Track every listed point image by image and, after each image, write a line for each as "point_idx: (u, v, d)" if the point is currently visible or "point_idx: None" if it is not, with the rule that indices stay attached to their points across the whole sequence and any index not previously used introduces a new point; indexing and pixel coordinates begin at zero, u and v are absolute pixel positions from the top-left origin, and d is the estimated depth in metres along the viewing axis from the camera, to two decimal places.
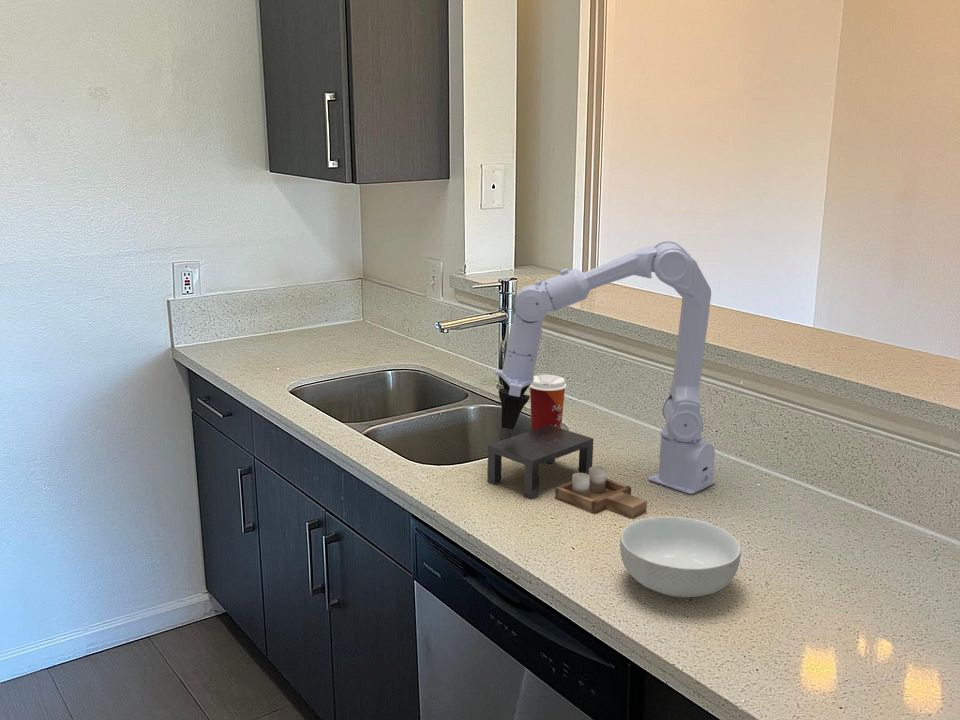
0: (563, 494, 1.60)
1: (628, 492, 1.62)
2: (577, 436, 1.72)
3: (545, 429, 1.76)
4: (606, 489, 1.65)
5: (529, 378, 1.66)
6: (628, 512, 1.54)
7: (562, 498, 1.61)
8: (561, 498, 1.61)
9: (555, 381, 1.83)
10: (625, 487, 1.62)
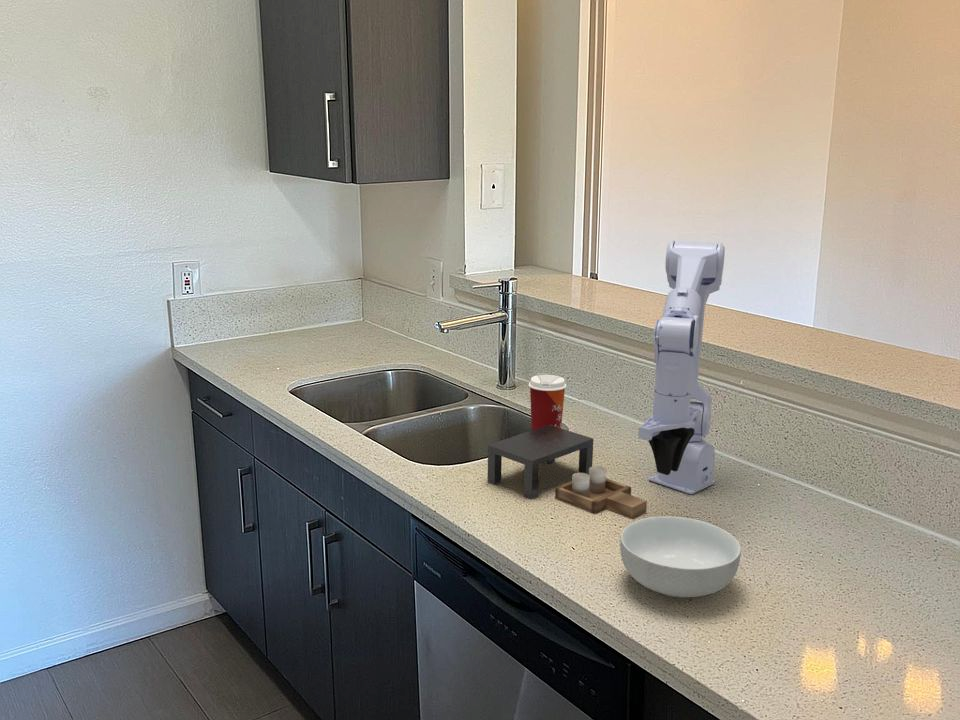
0: (563, 494, 1.60)
1: (628, 492, 1.62)
2: (577, 436, 1.72)
3: (545, 429, 1.76)
4: (606, 489, 1.65)
5: None
6: (628, 512, 1.54)
7: (562, 498, 1.61)
8: (561, 498, 1.61)
9: (555, 381, 1.83)
10: (625, 487, 1.62)
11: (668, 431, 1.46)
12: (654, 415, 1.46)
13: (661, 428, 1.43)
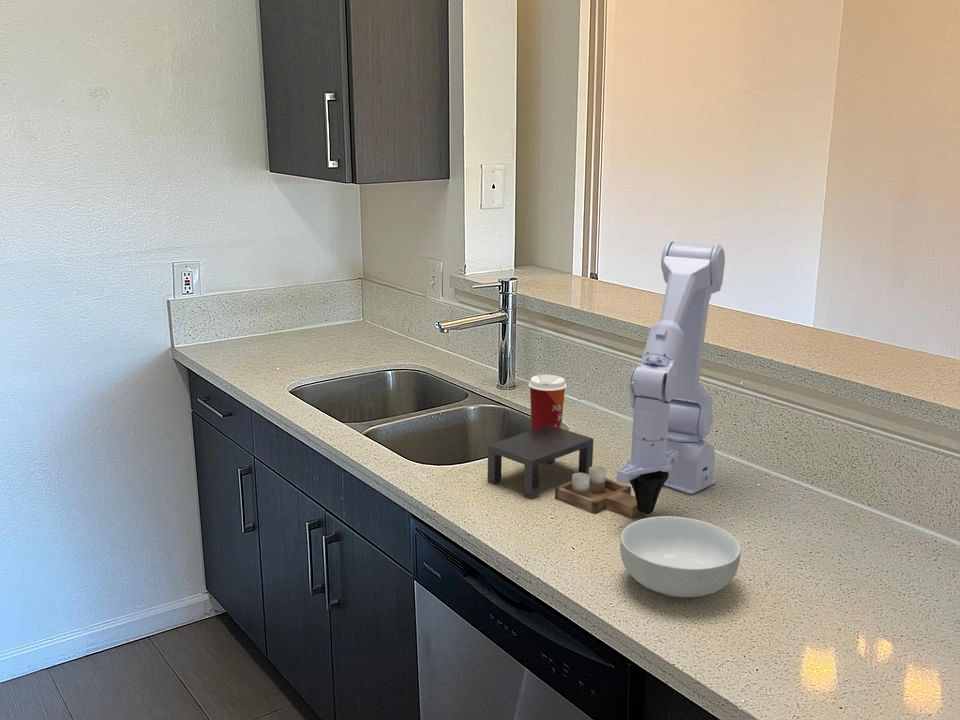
0: (563, 494, 1.60)
1: (628, 492, 1.62)
2: (577, 436, 1.72)
3: (545, 429, 1.76)
4: (606, 489, 1.65)
5: None
6: (628, 512, 1.54)
7: (562, 498, 1.61)
8: (561, 498, 1.61)
9: (555, 381, 1.83)
10: (625, 487, 1.62)
11: (646, 474, 1.51)
12: (632, 458, 1.51)
13: (638, 472, 1.48)
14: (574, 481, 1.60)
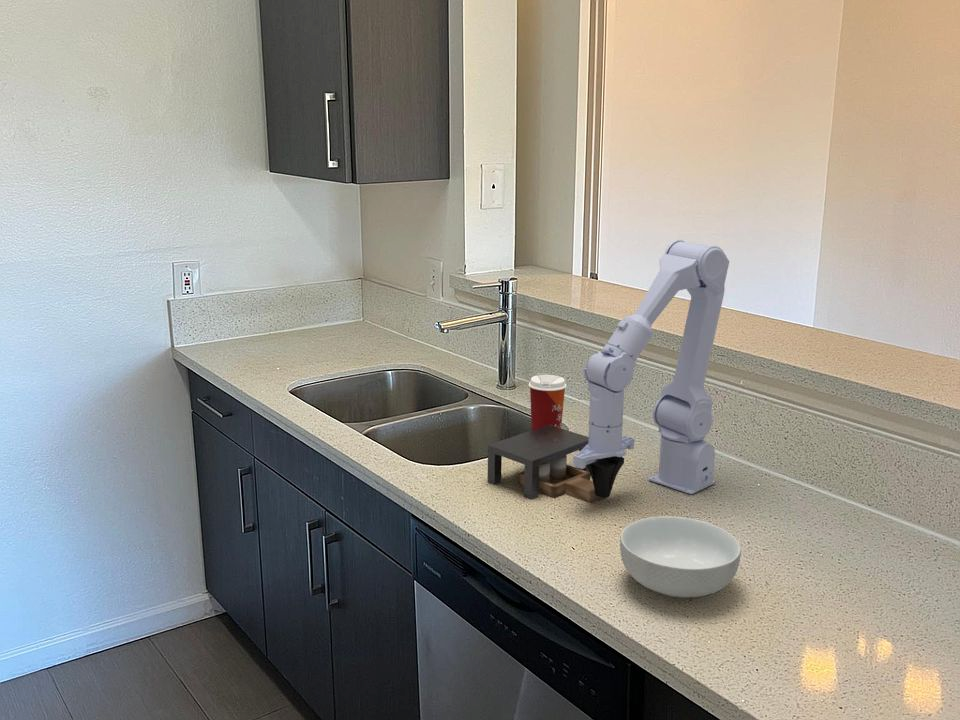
0: None
1: (587, 478, 1.68)
2: (577, 436, 1.72)
3: (545, 429, 1.76)
4: (567, 475, 1.71)
5: None
6: (585, 496, 1.61)
7: None
8: (523, 483, 1.67)
9: (555, 381, 1.83)
10: (584, 473, 1.68)
11: (602, 459, 1.57)
12: (589, 444, 1.57)
13: (594, 457, 1.54)
14: None
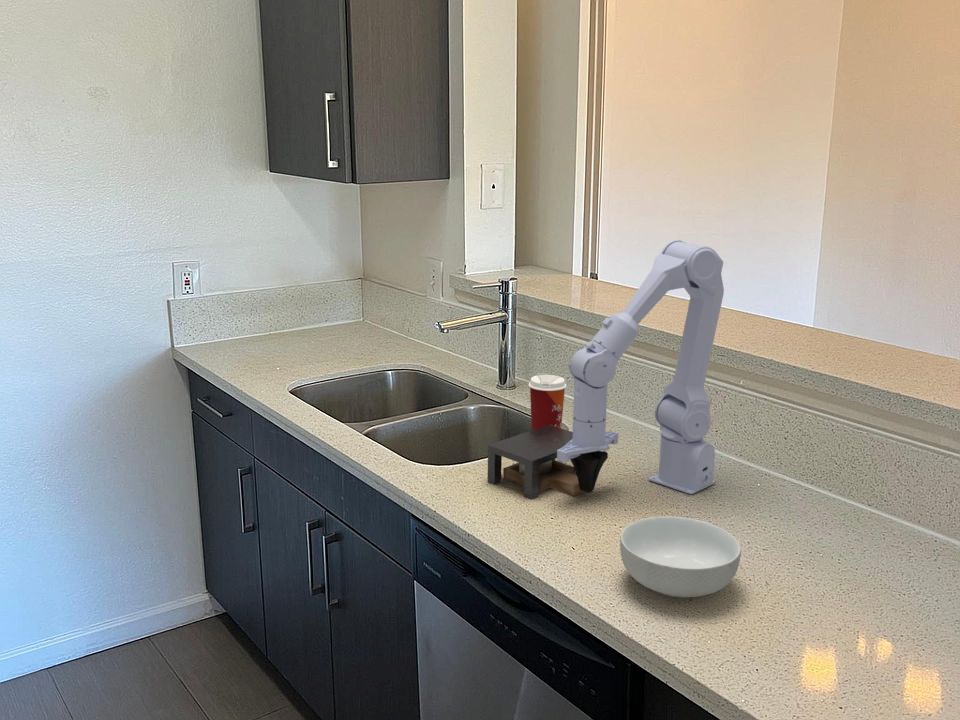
0: (510, 474, 1.69)
1: (572, 472, 1.71)
2: None
3: (545, 429, 1.76)
4: (552, 470, 1.73)
5: None
6: (570, 490, 1.63)
7: (509, 478, 1.69)
8: (509, 478, 1.70)
9: (555, 381, 1.83)
10: (569, 467, 1.71)
11: (585, 454, 1.59)
12: (573, 439, 1.60)
13: (577, 451, 1.56)
14: None
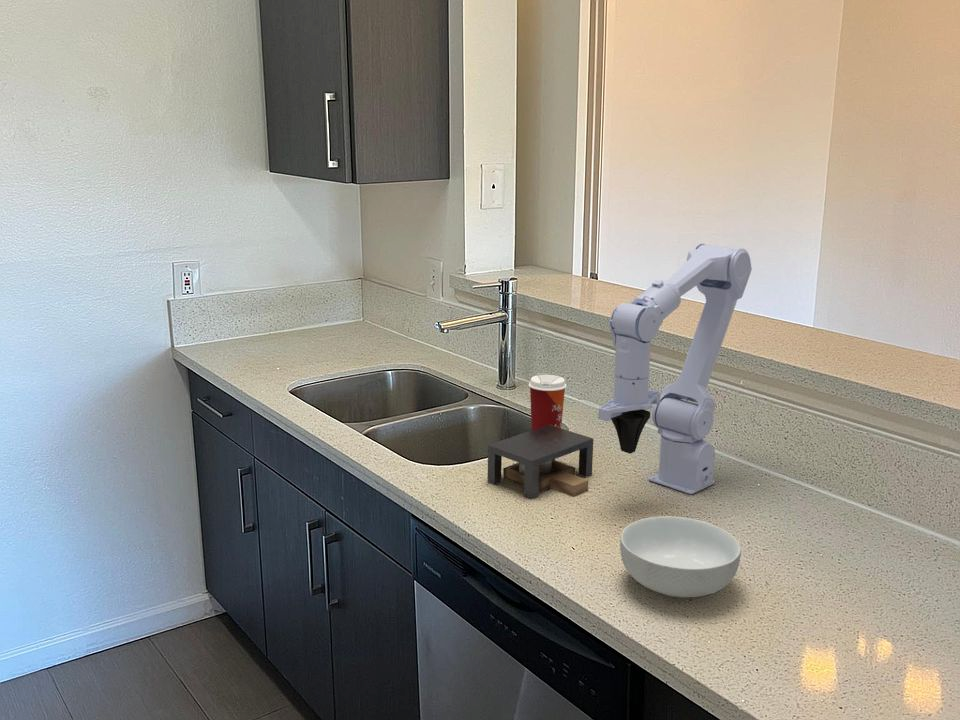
0: (510, 474, 1.69)
1: (572, 472, 1.71)
2: (577, 436, 1.72)
3: (545, 429, 1.76)
4: (552, 470, 1.73)
5: None
6: (570, 490, 1.63)
7: (509, 478, 1.69)
8: (508, 478, 1.70)
9: (555, 381, 1.83)
10: (569, 467, 1.71)
11: (627, 413, 1.53)
12: (614, 397, 1.54)
13: (620, 409, 1.51)
14: None
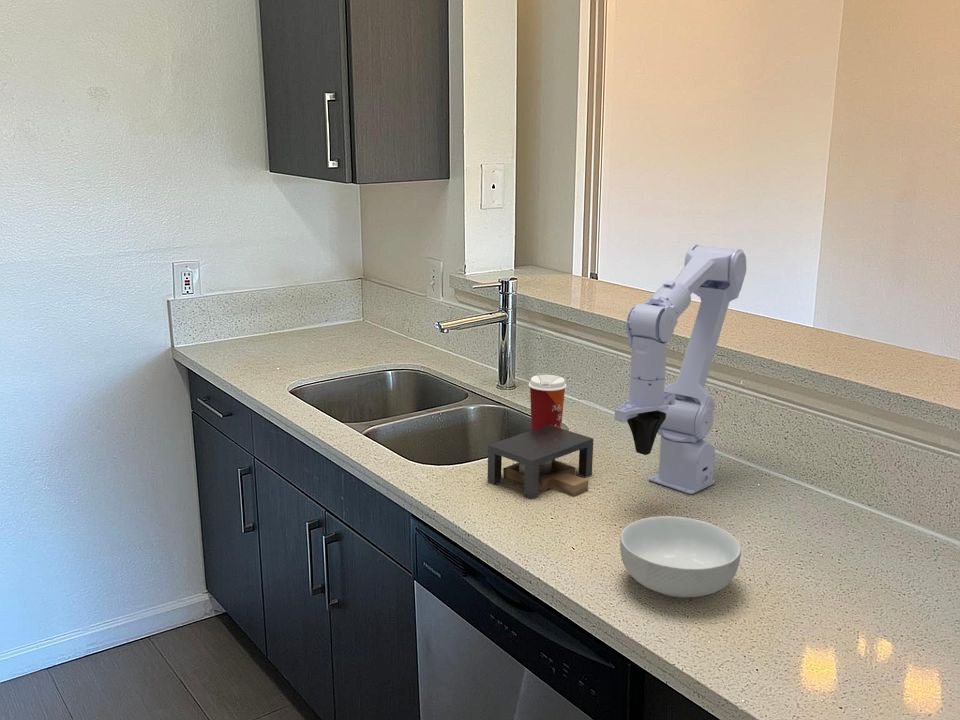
0: (510, 474, 1.69)
1: (572, 472, 1.71)
2: (577, 436, 1.72)
3: (545, 429, 1.76)
4: (552, 470, 1.73)
5: None
6: (570, 490, 1.63)
7: (509, 478, 1.69)
8: (508, 478, 1.70)
9: (555, 381, 1.83)
10: (569, 467, 1.71)
11: (643, 414, 1.53)
12: (630, 399, 1.53)
13: (636, 411, 1.50)
14: None
